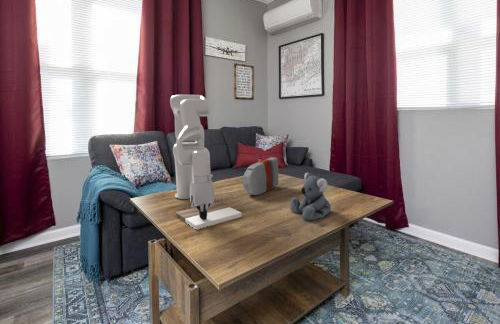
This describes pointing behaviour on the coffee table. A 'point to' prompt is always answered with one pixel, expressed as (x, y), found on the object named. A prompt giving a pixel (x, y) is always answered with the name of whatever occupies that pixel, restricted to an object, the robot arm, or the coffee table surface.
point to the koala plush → (312, 199)
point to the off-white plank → (213, 218)
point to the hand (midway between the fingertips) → (203, 218)
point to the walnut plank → (195, 212)
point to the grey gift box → (261, 176)
